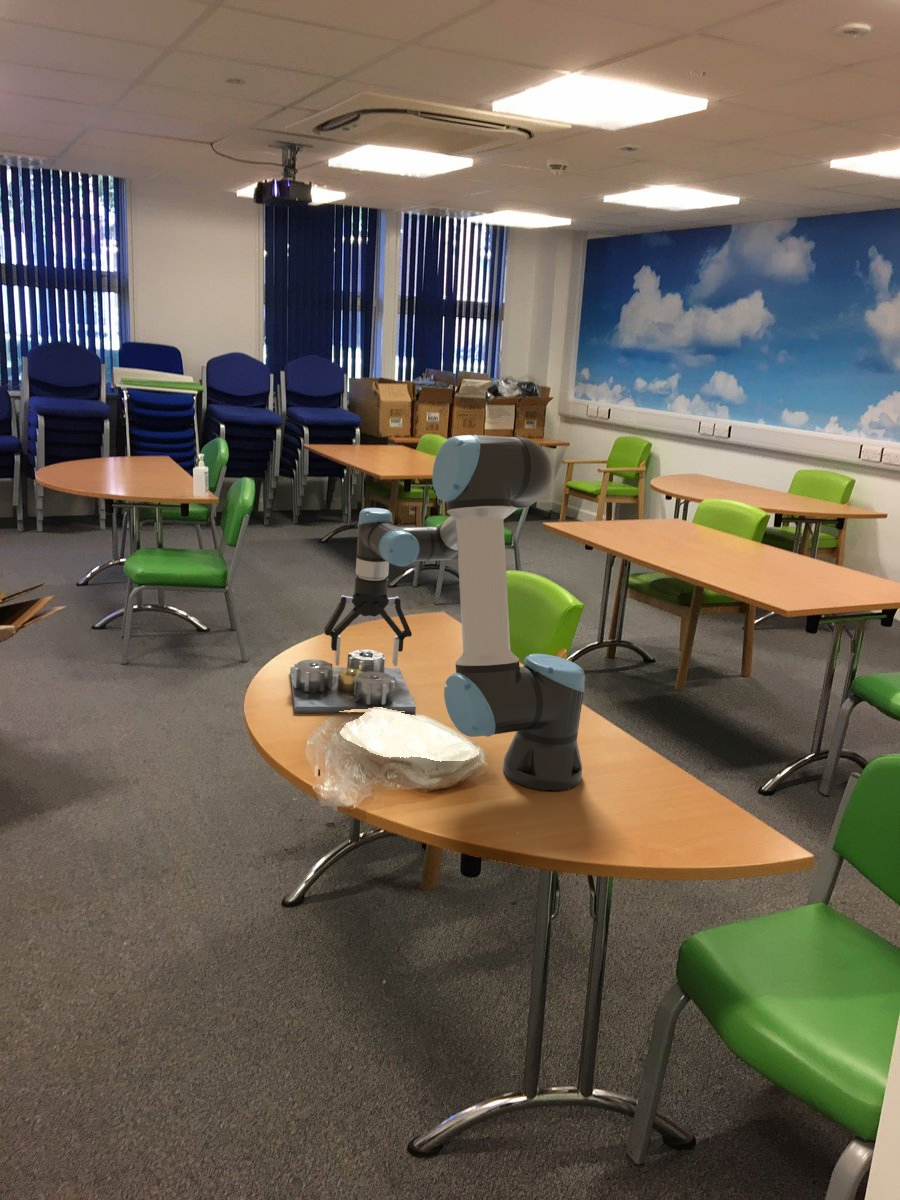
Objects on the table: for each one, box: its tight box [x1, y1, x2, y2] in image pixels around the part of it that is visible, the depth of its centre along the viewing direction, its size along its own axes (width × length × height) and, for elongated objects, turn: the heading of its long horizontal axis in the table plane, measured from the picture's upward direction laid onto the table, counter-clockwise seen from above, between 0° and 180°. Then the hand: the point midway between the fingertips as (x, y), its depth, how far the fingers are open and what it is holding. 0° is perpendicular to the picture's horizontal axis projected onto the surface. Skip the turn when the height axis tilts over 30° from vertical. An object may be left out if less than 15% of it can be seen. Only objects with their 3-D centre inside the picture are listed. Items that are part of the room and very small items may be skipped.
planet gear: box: [346, 649, 386, 673], centre depth 218 cm, size 8×8×5 cm
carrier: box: [289, 653, 417, 714], centre depth 210 cm, size 24×26×7 cm
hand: (366, 663), depth 218 cm, fingers open, 13 cm apart
